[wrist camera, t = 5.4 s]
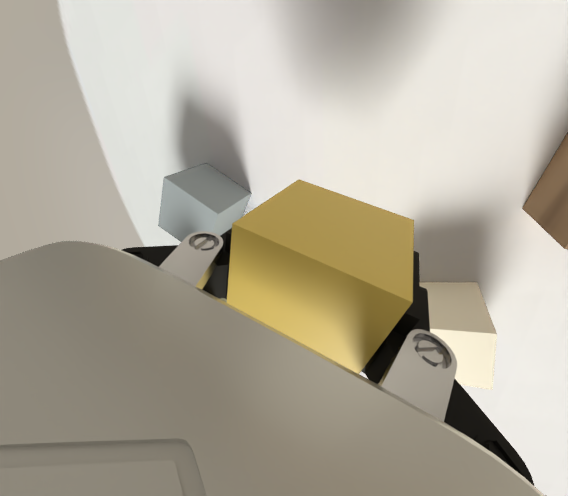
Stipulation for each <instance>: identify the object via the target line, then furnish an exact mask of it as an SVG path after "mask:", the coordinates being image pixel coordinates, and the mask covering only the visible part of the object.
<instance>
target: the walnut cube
mask: <svg viewBox="0 0 568 496" xmlns="http://www.w3.org/2000/svg"><path fill="white" fill-rule="evenodd" d="M522 209H523V210H524V211H525V212H526V213H528V214H529V215H530V216H531V217H532V218H533V219H534V220H535V221H536V222H537V223H538V224H539V225H540V226H541V227H542V228H543V229H544V230H545V231H546V232H547V233H548V234H550V235H551V236H552V237H553V238H554V239H555V240H556V241H557V242H558V243H559V244H560V245H561V246H562V247H563V248H564V249H568V133H567V134H566V136H565V138H564V139H563V141H562V143H561V144H560V146H559V148H558V149H557V151H556V153H555V154H554V156H553V158H552V160H551V161H550V163H549V165H548V166H547V168H546V170H545V171H544V173H543V175H542V176H541V178H540V180H539V181H538V183H537V185H536V186H535V188H534V190H533V191H532V193H531V195H530V196H529V198H528V200H527V201H526V203H525V205H524V206H523V208H522Z"/></svg>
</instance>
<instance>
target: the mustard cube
mask: <svg viewBox="0 0 568 496" xmlns="http://www.w3.org/2000/svg"><path fill="white" fill-rule="evenodd" d="M413 247H414V220H412V219H409V218H406V217H404V216H401V215H398V214H395V213H392V212H389V211H387V210H384V209H381V208H378V207H375V206H372V205H370V204H367V203H364V202H361V201H358V200H356V199H353V198H350V197H347V196H344V195H341V194H339V193H336V192H333V191H330V190H327V189H324V188H322V187H319V186H316V185H313V184H310V183H307V182H305V181H302V180H297V181H296V182H294V183H293V184H291V185H290V186H288V187H287V188H285V189H284V190H282V191H281V192H279V193H278V194H276V195H275V196H273V197H272V198H270V199H269V200H267V201H266V202H264V203H263V204H261V205H259V206H258V207H256V208H255V209H253V210H252V211H250V212H249V213H247V214H246V215H244V216H243V217H241V218H240V219H238V220H237V221H235V222H234V223H232V235H231V249H230V263H229V277H228V291H227V303H228V304H230V305H232V306H234V307H236V308H237V309H239V310H241V311H243V312H245V313H247V314H249V315H250V316H252V317H254V318H256V319H258V320H260V321H262V322H263V323H265V324H267V325H269V326H271V327H273V328H275V329H276V330H278V331H280V332H282V333H284V334H286V335H288V336H289V337H291V338H293V339H295V340H297V341H299V342H301V343H302V344H304V345H306V346H308V347H310V348H312V349H313V350H315V351H317V352H319V353H321V354H323V355H324V356H326V357H328V358H330V359H332V360H334V361H335V362H337V363H339V364H341V365H343V366H345V367H347V368H348V369H350V370H352V371H354V372H356V373H358V374H359V373H360V372H361V371H362V369H363V368H364V367H365V365H366V364H367V363H368V361H369V360H370V359H371V357H372V356H373V355H374V353H375V352H376V351H377V349H378V348H379V347H380V345H381V344H382V343H383V341H384V340H385V339H386V337H387V336H388V335H389V333H390V332H391V331H392V329H393V328H394V327H395V325H396V324H397V323H398V321H399V320H400V319H401V317H402V316H403V315H404V313H405V312H406V311H407V309H408V308H409V307H410V305H411V304H412V303H413Z"/></svg>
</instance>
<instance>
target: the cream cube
mask: <svg viewBox="0 0 568 496" xmlns="http://www.w3.org/2000/svg"><path fill="white" fill-rule="evenodd" d="M419 286H421V287H423V288H426V289H427V292H428V306H429V322H430V332H431V333H433V334H435V335H436V336H438V337H439V338H441V339H442V340H443V341H444V342H445V343H446V344H447V345H448V346H449V347H450V348H451V350H452V351H453V353H454V354H455V357H456V360H457V370H456V374H455V379H456V380H457V382H458V383H459V384H460V385H465V386H471V387H477V388H483V389H489V390H492V388H493V376H494V363H495V351H496V338H497V333H496V330H495V328H494V325H493V323H492V320H491V317H490V315H489V312H488V309H487V307H486V304H485V302H484V299H483V296H482V294H481V291H480V289H479V286H478V283H477V282H419Z"/></svg>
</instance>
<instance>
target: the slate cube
mask: <svg viewBox="0 0 568 496" xmlns="http://www.w3.org/2000/svg"><path fill="white" fill-rule="evenodd" d="M250 196H251V193H250V192H249V191H247V190H246V189H244V188H243V187H241V186H240V185H238V184H237V183H235V182H234V181H232V180H231V179H229V178H228V177H226V176H225V175H224V174H222V173H221V172H219V171H218V170H216V169H215V168H213V167H212V166H210V165H209V164H207V163H205V164H202V165H199V166H196V167H193V168H190V169H187V170H184V171H181V172H178V173H175V174H172V175H169V176H166V177H164V181H163V189H162V198H161V207H160V215H159V224H158V226H159V227H161V228H162V229H164V230H165V231H166V232H168V233H169V234H171V235H172V236H174V237H175V238H176V239H178V240H179V241H181V242H182V241H183V240H184V239H185V238H186V237H187V236H189V235H190V234H192V233H195V232H200V231H207V232H213V233H215V234H217V235H219V236H220V235H222V234H223V233H225V232H226V231H228V230H229V229H231V228H232V223H234V222H235V221H237V220H238V219H240V218H241V217H242V216H243V213H244V211H245V208H246V206H247V203H248V201H249V198H250Z"/></svg>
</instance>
